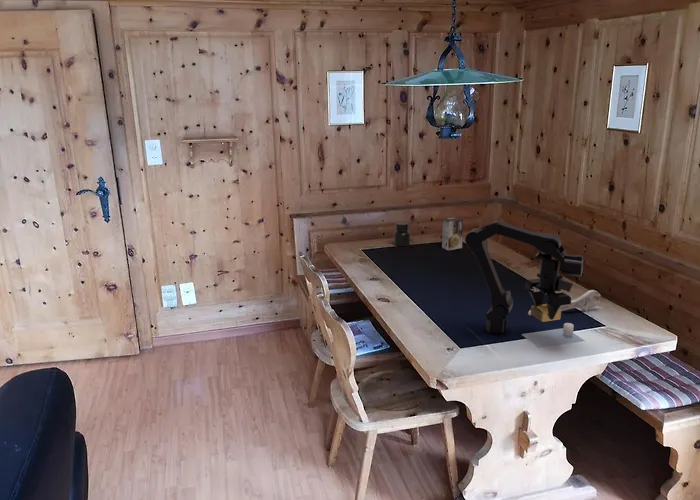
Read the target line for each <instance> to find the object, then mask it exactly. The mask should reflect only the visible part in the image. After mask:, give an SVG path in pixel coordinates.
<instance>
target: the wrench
mask: <svg viewBox="0 0 700 500" xmlns="http://www.w3.org/2000/svg"><path fill="white" fill-rule="evenodd" d="M594 297H599V298H601V294H600V292H598V291H597V290H595V289H590V290H588V291H586V292H585V293H583V294H582V295H581V296H579V297H577V298H575V299H571V304H568V305H561V306H560V307H559V309H558V310H560V311H561V312H562V311H568V310H572V309H577V308H578V309H581V311H582V312H588V310H590V309H593V308H596V307H597V303H596V302H594V301H591V300H593V298H594ZM527 315H529V316H532V315H531V309H530V310H529V311H528V313H527Z"/></svg>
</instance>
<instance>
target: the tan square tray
mask: <svg viewBox="0 0 700 500" xmlns="http://www.w3.org/2000/svg"><path fill="white" fill-rule="evenodd" d="M530 310H531V315H530V316H532V317H534V318H536V319H537V320H538V321H540V322H541V323H543V322H544V323H545V322H550V321H558V320H561V316H562V311H560V310H558V311H557V313H556V315H555V317H554V319H552V320H551V319H550V318H549V313H548V308H547V303H545V304H544V303H542V305H535V304H534V305H530Z"/></svg>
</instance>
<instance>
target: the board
mask: <svg viewBox="0 0 700 500" xmlns="http://www.w3.org/2000/svg"><path fill="white" fill-rule="evenodd" d="M521 336H523V338H526V340H528V341H529V342H531V343H532V344H533V345H534V346H536V348H538V349H540V348H541V349H542V348H547V347H554V346H560V345H567V344H573V343H579V342H580V343H581V342H585V341H586V340H585V339H583V338H582V337H580V336H579V335H577V334H576V333H574V324H573V323H571V322H565V323H564V324H563V328H554V329H550V330H549V329H548V330H543V331H535V332H534V331H533V332H529V333H528V332H527V333H522V334H521Z"/></svg>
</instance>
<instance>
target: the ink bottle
mask: <svg viewBox="0 0 700 500" xmlns="http://www.w3.org/2000/svg"><path fill="white" fill-rule="evenodd" d="M393 244H394V245H395V246H397V247H408V246H410V244H411V232H410V231H409V222H406V221H398V222H396V223H395V231H394V233H393Z"/></svg>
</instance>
